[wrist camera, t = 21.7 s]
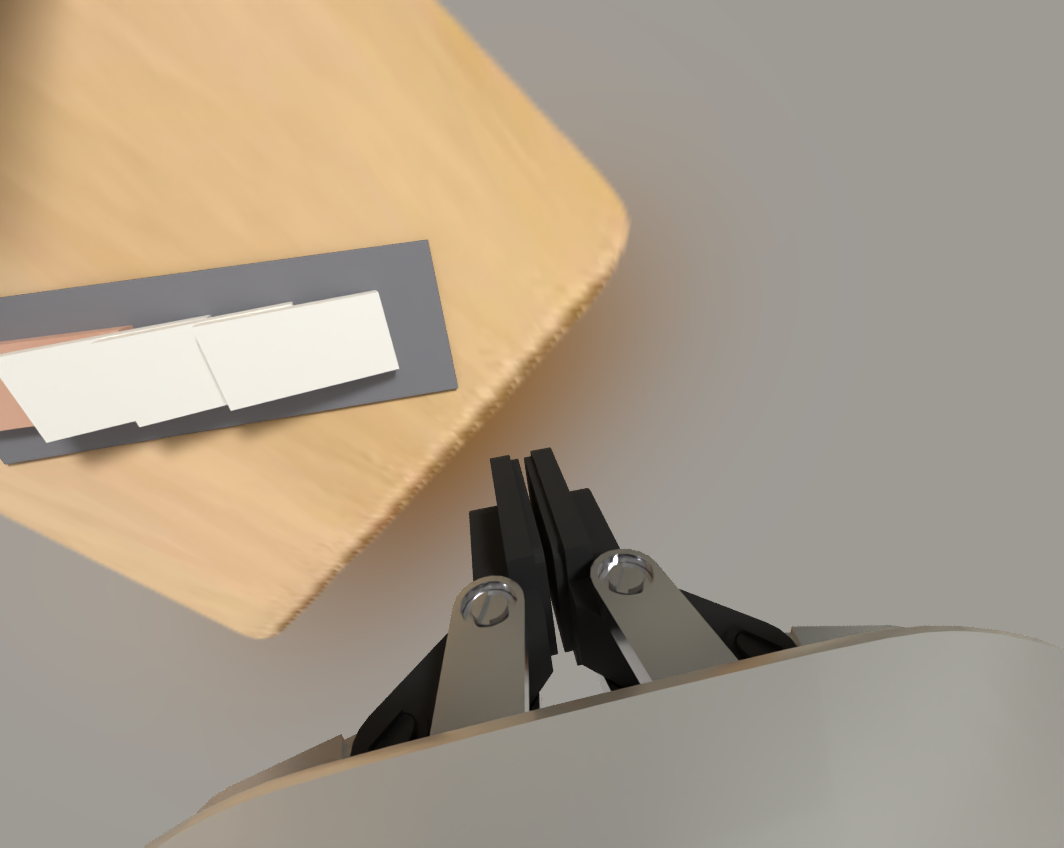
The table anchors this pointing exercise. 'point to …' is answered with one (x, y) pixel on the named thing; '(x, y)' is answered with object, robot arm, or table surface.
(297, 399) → the rubber mat
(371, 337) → the domino
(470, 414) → the table surface
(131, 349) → the domino
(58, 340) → the domino
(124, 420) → the domino
